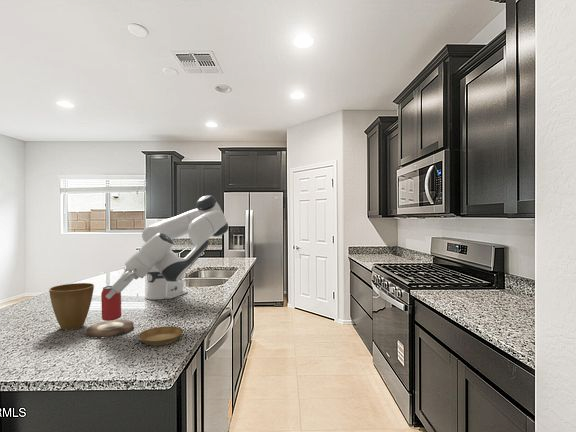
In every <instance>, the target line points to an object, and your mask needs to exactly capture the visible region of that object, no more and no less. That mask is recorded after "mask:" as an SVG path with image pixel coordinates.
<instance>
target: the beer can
mask: <svg viewBox="0 0 576 432" xmlns="http://www.w3.org/2000/svg"><path fill="white" fill-rule="evenodd" d="M112 286H113V285H107V286H104V287H102V291H101V294H100V295H101V297H100V298H101V301H100V302H101V320H103V321H104V322H105V321H111V320H120V318H121V317H122V291H121V292H120V293H116V294H114V295H113V296H112V297H111V298H110V299H108V298H106V295H107V294H108V293H109V292H110V291H111V289H112Z"/></svg>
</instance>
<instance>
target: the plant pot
mask: <svg viewBox="0 0 576 432" xmlns="http://www.w3.org/2000/svg"><path fill="white" fill-rule="evenodd" d="M94 289H95V284H94V283H91V282H79V283H77V282H75V283H67V284H60V285H55V286H52V287H50V288H48V291H49V296H50V301H51V303H50V304H51V307H52V310H53V313H54V316H55V318H56V321H57V324H58V325H59V328H60V329H61V330H64V331H69V330H71V329H72V330H76V328H77V329H79V328H82V327H83V326H84V325H85V323H86V322H85V321H86V319H87V317H88V314H89V311H90V308H91V303H92V299H93V294H94Z"/></svg>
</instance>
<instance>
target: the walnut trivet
mask: <svg viewBox="0 0 576 432" xmlns="http://www.w3.org/2000/svg"><path fill="white" fill-rule="evenodd" d="M134 326H135V325H134V321H132V320H129V319H116V320H111V321H105V320H104V321H101V322H98V323H94V324H92V325H90V326H88V327H87V328H86V330H85V336H86V335H87V336H86V337H88V338H91V337H97V338H96V339H102V338H101V337H107V338H111V336H113V337H117V336H116V335H118V336H120V335H123V334H127V333H129V332H130V331H132V330H133V329H134V328H135V327H134ZM99 337H100V338H99Z"/></svg>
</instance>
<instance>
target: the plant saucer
mask: <svg viewBox="0 0 576 432" xmlns="http://www.w3.org/2000/svg"><path fill="white" fill-rule="evenodd" d="M183 333H184V329H183V328H182V327H180V326H179V327H178V326H173V325H166V326H165V325H164V326H163V325H162V326H156V327H152V328H148V329H146V330H142V331H141V332H139V334H138V335H137V336H138V339H139V340H140V341H141V342H143V344H145V345H147V346H151V345H152V346H154V347H157V346H165V345H169V344H172V343H174V342H176V341H177V340H178V339H179V338H181V336H182V335H183Z"/></svg>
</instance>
